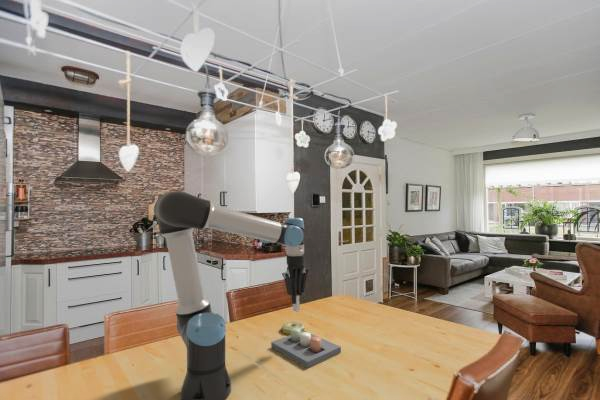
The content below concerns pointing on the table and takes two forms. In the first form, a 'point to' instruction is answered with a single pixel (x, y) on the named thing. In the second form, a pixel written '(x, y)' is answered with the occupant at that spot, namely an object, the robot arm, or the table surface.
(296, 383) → the table surface
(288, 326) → the decorated donut
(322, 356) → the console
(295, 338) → the sage button
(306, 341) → the white egg
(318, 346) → the terracotta button
